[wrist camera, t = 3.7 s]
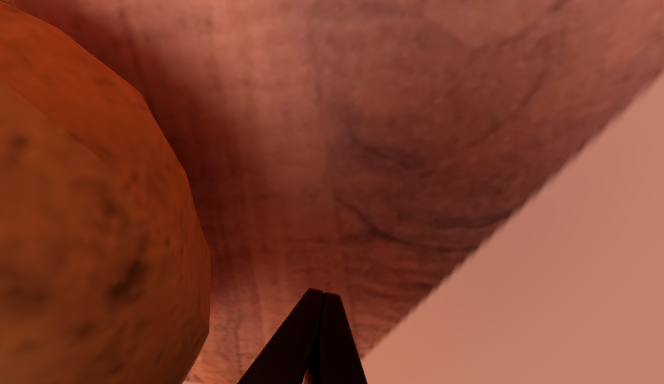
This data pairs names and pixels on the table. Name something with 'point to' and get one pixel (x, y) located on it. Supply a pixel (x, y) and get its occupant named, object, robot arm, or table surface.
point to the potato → (91, 223)
